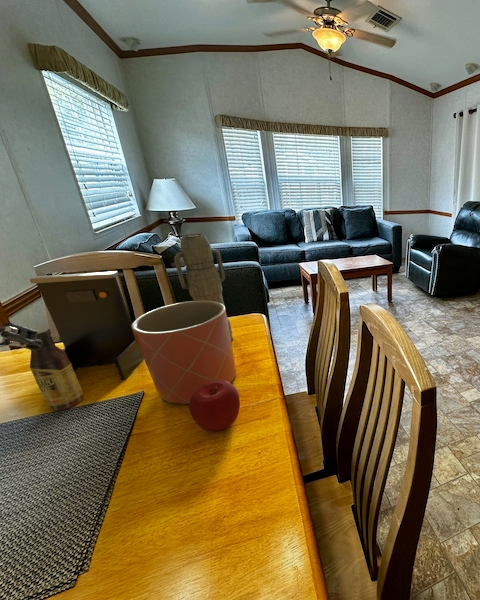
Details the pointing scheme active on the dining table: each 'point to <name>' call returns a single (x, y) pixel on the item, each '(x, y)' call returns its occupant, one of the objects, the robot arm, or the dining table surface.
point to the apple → (215, 405)
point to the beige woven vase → (201, 270)
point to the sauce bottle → (54, 373)
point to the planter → (185, 347)
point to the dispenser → (91, 320)
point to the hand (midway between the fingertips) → (13, 349)
